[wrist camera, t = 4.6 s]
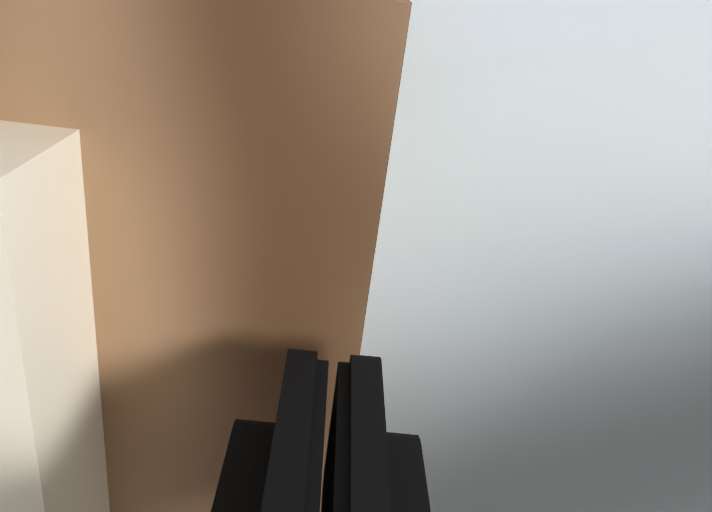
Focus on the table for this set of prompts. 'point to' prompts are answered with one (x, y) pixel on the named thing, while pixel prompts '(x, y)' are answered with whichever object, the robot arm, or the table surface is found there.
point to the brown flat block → (213, 204)
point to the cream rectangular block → (47, 329)
